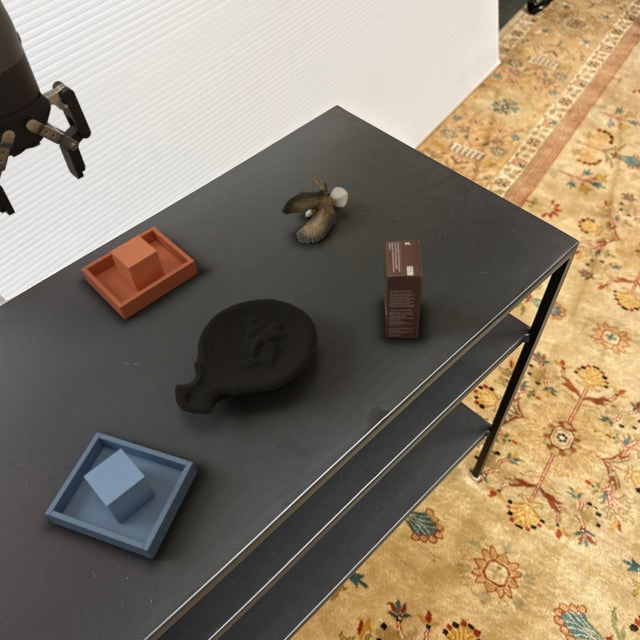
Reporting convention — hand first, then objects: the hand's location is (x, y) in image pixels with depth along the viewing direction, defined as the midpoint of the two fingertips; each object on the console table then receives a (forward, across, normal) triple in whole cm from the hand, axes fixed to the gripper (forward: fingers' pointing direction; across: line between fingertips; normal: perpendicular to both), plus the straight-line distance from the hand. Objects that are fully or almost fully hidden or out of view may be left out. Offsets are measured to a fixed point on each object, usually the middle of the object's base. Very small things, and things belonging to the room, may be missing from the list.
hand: (43, 192), depth 72 cm
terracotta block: (+20, -8, -1) cm, 22 cm away
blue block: (+20, +12, +26) cm, 35 cm away
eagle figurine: (+20, -33, +9) cm, 40 cm away
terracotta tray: (+21, -8, -1) cm, 22 cm away
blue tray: (+21, +12, +26) cm, 35 cm away
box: (+20, -27, +31) cm, 46 cm away
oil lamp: (+21, -8, +22) cm, 31 cm away
